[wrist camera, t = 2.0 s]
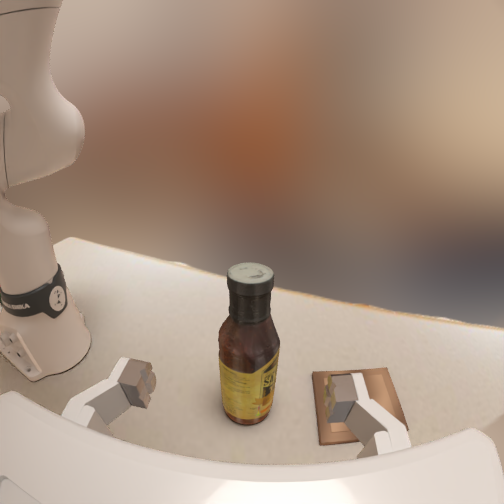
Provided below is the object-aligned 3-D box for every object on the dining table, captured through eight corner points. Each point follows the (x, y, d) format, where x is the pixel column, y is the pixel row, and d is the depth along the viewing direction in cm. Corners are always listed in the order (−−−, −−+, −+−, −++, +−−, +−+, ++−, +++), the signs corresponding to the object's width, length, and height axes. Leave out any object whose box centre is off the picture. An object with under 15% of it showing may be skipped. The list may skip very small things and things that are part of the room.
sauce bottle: (270, 428, 28) (290, 297, 20) (219, 424, 28) (205, 292, 20) (271, 389, 34) (286, 259, 26) (226, 385, 34) (220, 255, 26)
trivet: (319, 445, 25) (321, 442, 25) (312, 375, 36) (313, 371, 36) (406, 432, 24) (409, 429, 24) (385, 370, 35) (386, 367, 35)
